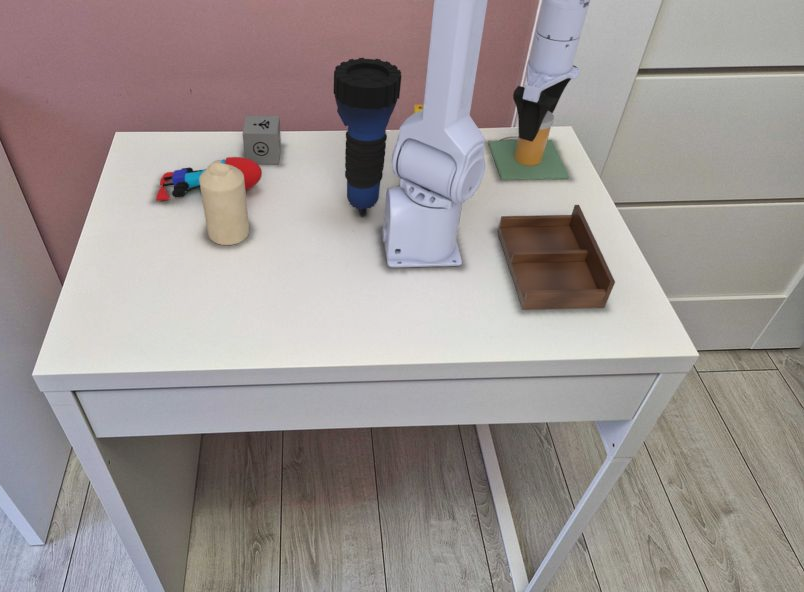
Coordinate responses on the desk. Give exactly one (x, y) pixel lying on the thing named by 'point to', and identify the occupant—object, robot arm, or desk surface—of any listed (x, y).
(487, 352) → the desk surface
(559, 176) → the green mat
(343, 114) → the flashlight
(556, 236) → the tray
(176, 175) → the toy figure
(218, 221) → the candle
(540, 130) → the disc
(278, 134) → the dice cube
